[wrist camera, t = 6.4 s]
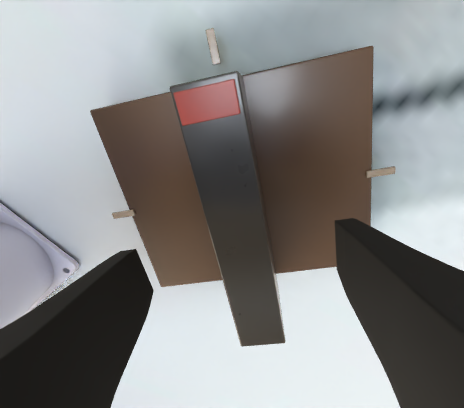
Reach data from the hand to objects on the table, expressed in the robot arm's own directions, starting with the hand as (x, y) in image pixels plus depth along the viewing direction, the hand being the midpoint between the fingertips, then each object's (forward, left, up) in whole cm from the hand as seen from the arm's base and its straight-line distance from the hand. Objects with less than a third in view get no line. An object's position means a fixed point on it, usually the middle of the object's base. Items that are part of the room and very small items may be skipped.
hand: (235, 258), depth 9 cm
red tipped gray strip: (0, 0, -6) cm, 6 cm away
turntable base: (0, 0, -8) cm, 8 cm away
